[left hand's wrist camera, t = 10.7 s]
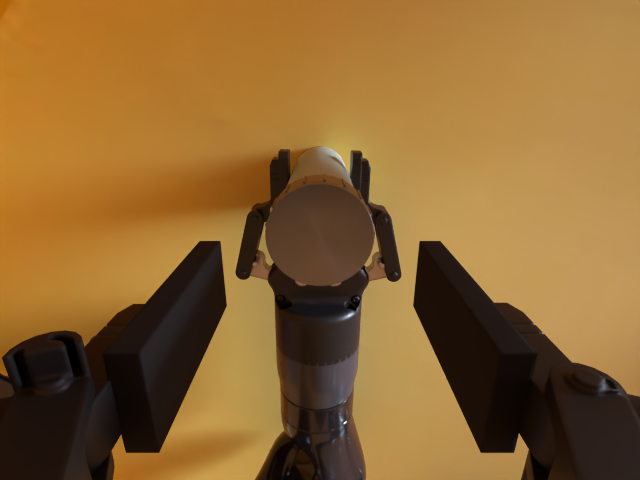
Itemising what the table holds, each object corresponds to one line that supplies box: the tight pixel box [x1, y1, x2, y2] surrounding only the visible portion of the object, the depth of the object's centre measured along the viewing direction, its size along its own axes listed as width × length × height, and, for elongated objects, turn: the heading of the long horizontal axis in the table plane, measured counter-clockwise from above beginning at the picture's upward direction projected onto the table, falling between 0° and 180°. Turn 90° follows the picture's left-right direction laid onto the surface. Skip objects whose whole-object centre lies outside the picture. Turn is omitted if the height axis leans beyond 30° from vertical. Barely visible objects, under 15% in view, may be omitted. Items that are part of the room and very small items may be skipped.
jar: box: [287, 147, 353, 187], centre depth 26 cm, size 5×5×17 cm
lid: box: [265, 174, 375, 286], centre depth 19 cm, size 5×5×2 cm
